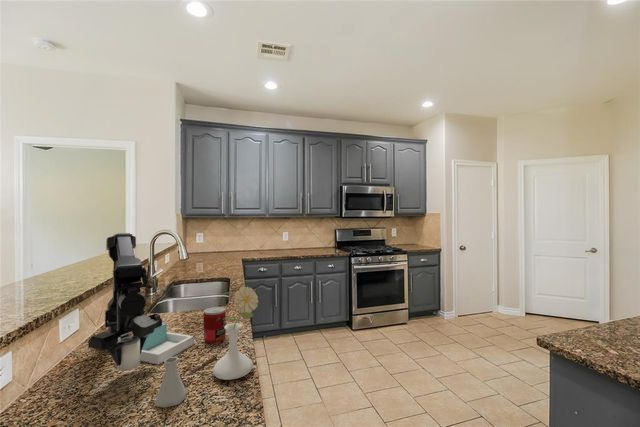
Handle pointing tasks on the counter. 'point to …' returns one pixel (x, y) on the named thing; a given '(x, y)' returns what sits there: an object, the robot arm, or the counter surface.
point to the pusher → (156, 337)
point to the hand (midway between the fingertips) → (128, 360)
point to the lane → (167, 348)
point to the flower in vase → (235, 361)
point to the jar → (130, 353)
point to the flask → (171, 386)
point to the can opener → (206, 363)
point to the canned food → (214, 324)
